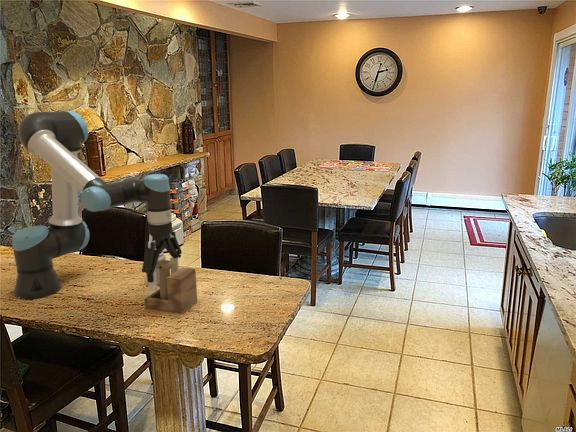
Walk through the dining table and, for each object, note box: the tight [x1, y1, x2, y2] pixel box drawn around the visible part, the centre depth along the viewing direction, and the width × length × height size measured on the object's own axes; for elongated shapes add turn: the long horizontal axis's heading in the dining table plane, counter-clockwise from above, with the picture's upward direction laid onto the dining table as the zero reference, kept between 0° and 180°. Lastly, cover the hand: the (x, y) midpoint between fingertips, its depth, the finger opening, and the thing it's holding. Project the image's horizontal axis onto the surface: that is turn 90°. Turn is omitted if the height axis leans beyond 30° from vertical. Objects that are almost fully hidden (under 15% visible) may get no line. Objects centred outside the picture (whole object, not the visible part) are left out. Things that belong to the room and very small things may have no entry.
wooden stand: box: [144, 266, 198, 315], centre depth 158 cm, size 14×10×12 cm
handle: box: [155, 259, 174, 300], centre depth 158 cm, size 5×6×15 cm
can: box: [145, 251, 167, 287], centre depth 177 cm, size 8×8×12 cm
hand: (164, 282), depth 158 cm, fingers open, 13 cm apart
